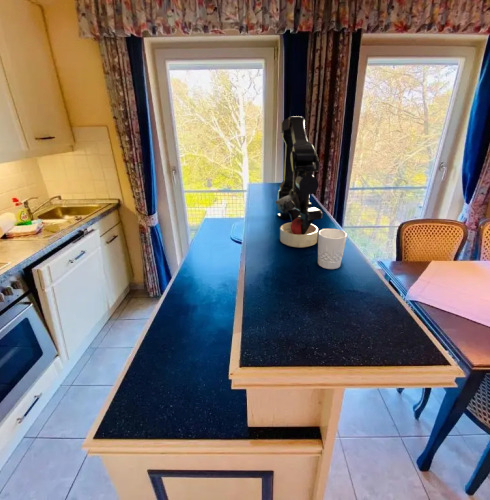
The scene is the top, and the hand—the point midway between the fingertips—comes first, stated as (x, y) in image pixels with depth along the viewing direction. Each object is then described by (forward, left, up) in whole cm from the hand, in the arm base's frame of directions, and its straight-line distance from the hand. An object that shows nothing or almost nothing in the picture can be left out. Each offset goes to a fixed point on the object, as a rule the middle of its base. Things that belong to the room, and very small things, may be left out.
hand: (298, 231), depth 99 cm
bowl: (0, 0, -4) cm, 4 cm away
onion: (0, 0, -2) cm, 2 cm away
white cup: (+19, 0, -4) cm, 19 cm away
